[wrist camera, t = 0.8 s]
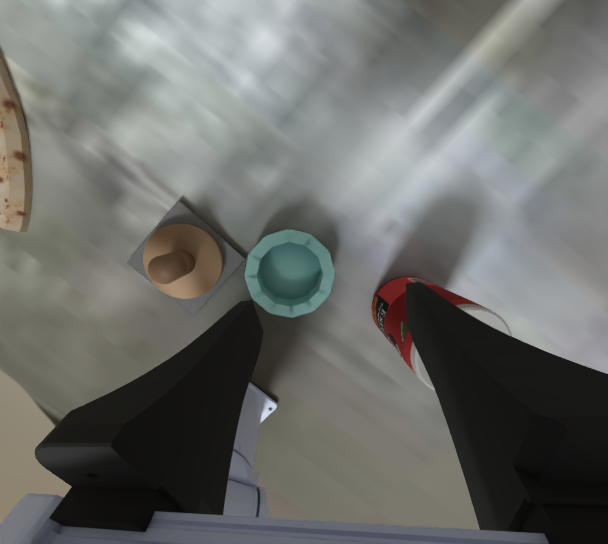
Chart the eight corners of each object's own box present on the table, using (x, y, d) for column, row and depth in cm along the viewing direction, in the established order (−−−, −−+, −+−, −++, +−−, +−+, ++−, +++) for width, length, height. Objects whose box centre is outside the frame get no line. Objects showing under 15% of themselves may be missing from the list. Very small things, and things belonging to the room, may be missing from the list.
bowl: (292, 320, 29) (292, 332, 26) (234, 271, 28) (227, 277, 24) (344, 267, 28) (351, 273, 25) (288, 212, 27) (287, 211, 23)
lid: (192, 309, 28) (171, 328, 23) (133, 262, 26) (97, 272, 21) (238, 259, 27) (226, 268, 22) (179, 207, 25) (153, 204, 20)
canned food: (358, 294, 29) (398, 338, 18) (418, 262, 29) (495, 287, 18) (385, 344, 31) (436, 412, 20) (442, 314, 30) (526, 367, 19)
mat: (195, 313, 28) (193, 315, 28) (130, 261, 27) (126, 262, 26) (246, 258, 27) (245, 259, 27) (181, 201, 26) (178, 200, 25)
